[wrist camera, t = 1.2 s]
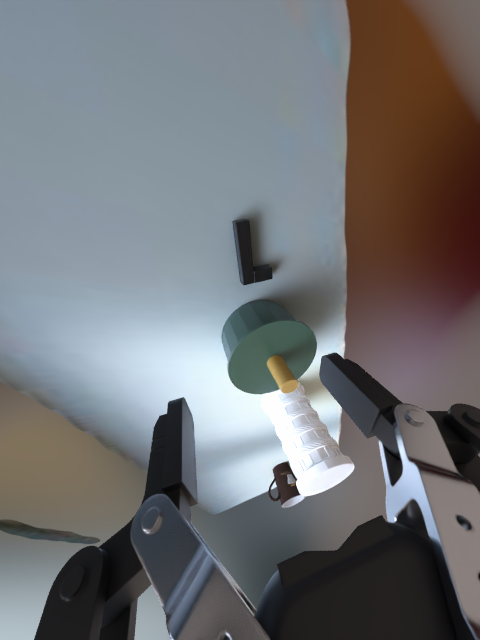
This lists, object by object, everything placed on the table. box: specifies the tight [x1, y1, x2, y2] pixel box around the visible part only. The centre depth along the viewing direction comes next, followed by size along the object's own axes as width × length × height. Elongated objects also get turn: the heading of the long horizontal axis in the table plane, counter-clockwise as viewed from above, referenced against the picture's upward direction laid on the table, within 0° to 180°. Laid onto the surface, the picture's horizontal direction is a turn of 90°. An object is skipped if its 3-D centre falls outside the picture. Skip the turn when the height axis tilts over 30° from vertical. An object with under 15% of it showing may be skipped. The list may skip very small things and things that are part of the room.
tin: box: [222, 300, 296, 361], centre depth 33 cm, size 14×14×8 cm
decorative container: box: [261, 382, 354, 496], centre depth 41 cm, size 12×12×18 cm
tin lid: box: [228, 319, 317, 394], centre depth 28 cm, size 15×15×6 cm
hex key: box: [232, 219, 272, 285], centre depth 27 cm, size 8×5×2 cm, turn 7°
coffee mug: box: [269, 463, 305, 508], centre depth 66 cm, size 12×9×10 cm
